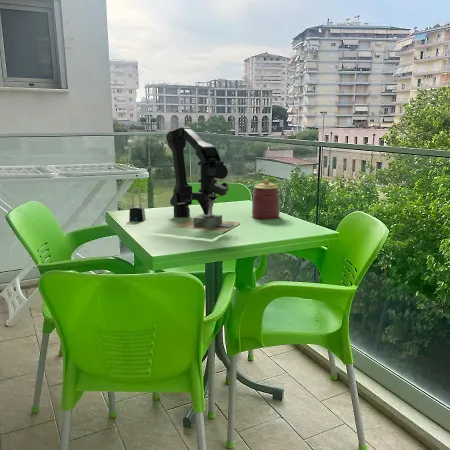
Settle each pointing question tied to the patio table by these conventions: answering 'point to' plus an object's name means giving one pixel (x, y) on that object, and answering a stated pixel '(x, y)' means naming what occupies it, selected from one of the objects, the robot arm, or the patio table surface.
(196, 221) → the chuck stand
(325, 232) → the patio table surface
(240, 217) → the patio table surface
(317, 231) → the patio table surface
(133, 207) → the padlock
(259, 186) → the canister
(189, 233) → the patio table surface
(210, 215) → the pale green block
